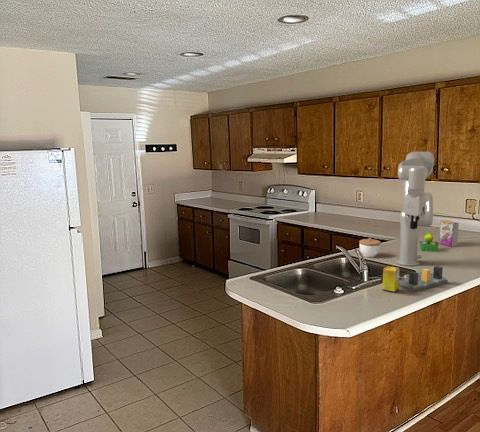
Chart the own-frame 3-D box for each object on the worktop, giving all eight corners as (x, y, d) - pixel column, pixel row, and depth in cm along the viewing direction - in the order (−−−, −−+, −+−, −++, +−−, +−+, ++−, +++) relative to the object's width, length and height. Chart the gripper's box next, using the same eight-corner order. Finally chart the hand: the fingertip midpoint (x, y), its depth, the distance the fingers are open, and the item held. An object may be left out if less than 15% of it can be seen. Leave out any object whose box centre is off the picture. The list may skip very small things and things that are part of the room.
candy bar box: (438, 243, 301) (440, 220, 299) (443, 242, 303) (445, 219, 300) (451, 247, 291) (453, 223, 288) (457, 246, 293) (459, 222, 290)
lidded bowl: (354, 254, 276) (355, 237, 274) (369, 252, 282) (370, 235, 280) (368, 259, 265) (369, 241, 263) (384, 256, 271) (385, 239, 269)
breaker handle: (424, 280, 220) (425, 268, 219) (430, 282, 218) (430, 269, 217) (421, 281, 219) (421, 269, 218) (426, 283, 216) (427, 270, 215)
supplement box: (386, 287, 217) (387, 265, 215) (398, 289, 213) (400, 268, 211) (381, 290, 212) (382, 268, 210) (394, 293, 208) (395, 270, 206)
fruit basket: (419, 251, 282) (420, 234, 280) (418, 247, 291) (419, 231, 289) (438, 252, 279) (440, 235, 277) (437, 249, 287) (438, 232, 285)
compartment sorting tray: (424, 275, 234) (425, 260, 233) (447, 282, 222) (448, 267, 221) (389, 283, 222) (390, 268, 221) (412, 291, 210) (413, 275, 209)
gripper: (398, 191, 223) (396, 226, 226) (423, 194, 210) (421, 232, 213) (408, 190, 227) (406, 225, 230) (433, 193, 214) (431, 230, 217)
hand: (413, 228), depth 222 cm, fingers closed
